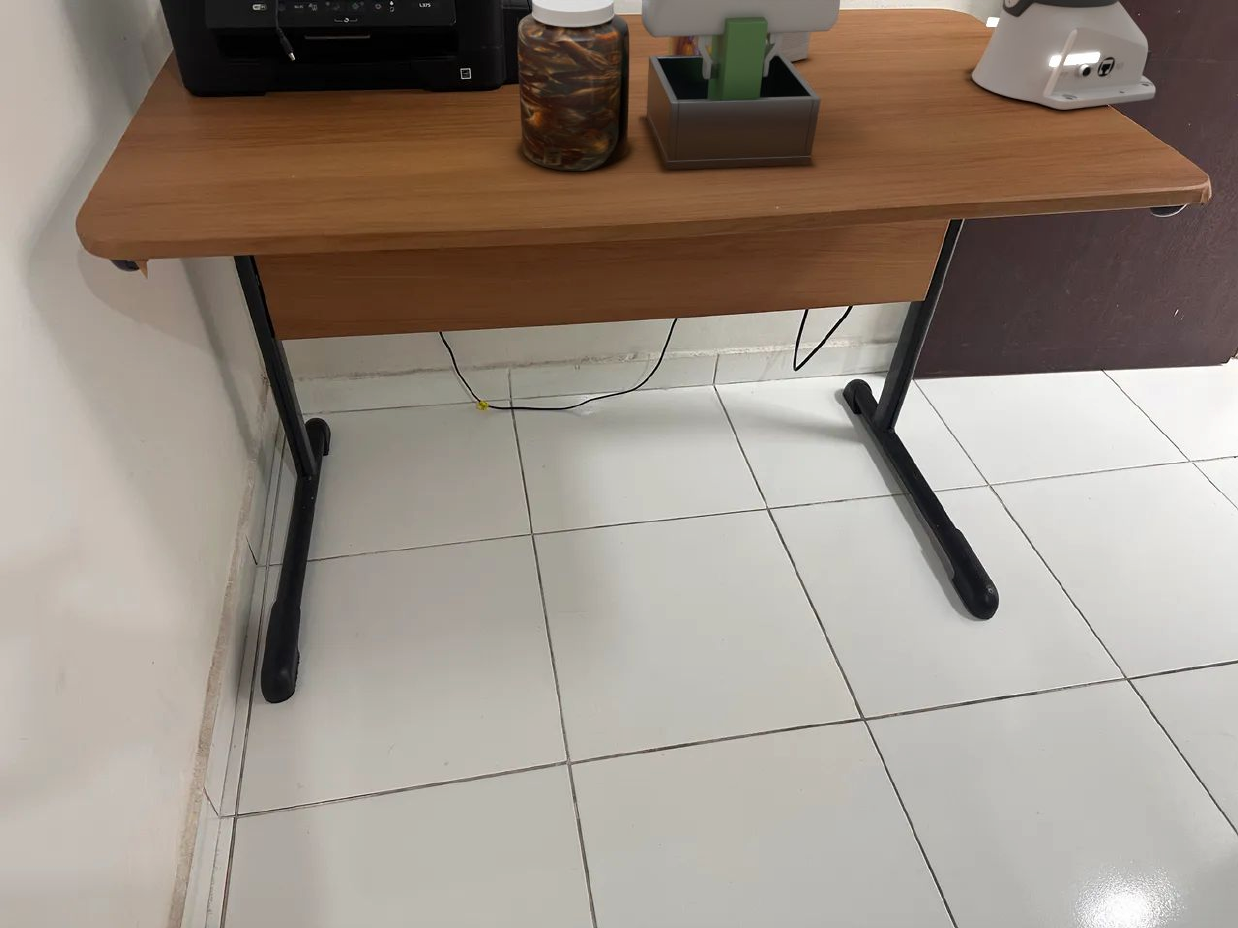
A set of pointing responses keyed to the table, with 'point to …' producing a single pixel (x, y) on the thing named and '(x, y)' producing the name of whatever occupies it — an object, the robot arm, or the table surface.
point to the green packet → (739, 58)
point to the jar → (574, 84)
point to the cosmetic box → (795, 45)
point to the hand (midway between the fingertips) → (734, 76)
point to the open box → (729, 117)
